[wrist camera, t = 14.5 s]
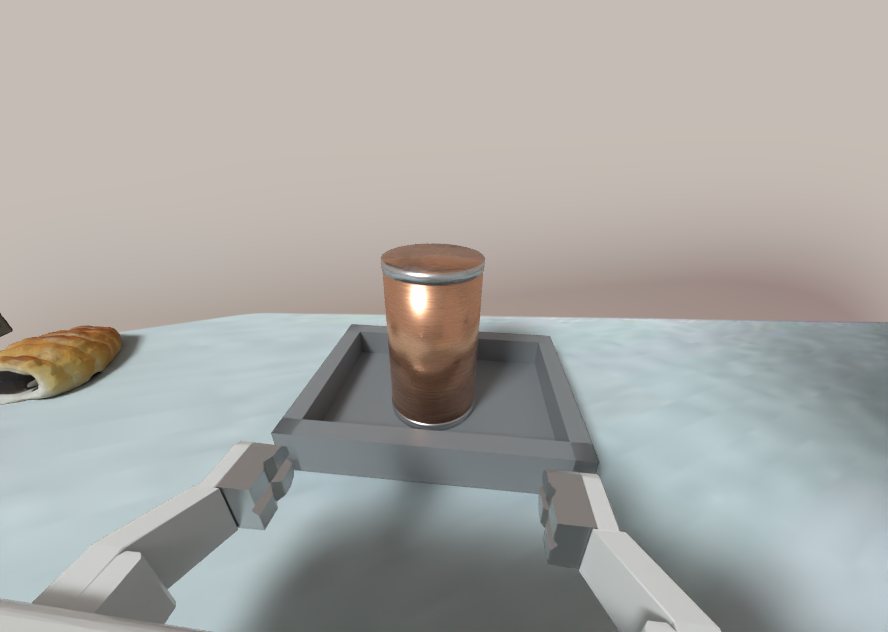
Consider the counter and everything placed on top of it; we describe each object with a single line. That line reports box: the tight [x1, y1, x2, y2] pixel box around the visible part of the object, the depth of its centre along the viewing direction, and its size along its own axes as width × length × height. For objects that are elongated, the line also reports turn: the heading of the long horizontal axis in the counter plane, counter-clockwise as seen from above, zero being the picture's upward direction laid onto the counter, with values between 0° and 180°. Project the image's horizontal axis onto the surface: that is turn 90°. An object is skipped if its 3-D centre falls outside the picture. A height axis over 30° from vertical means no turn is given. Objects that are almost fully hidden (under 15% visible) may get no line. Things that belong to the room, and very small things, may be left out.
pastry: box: [0, 326, 122, 404], centre depth 27 cm, size 9×7×4 cm
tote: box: [271, 324, 599, 494], centre depth 24 cm, size 18×13×3 cm
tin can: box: [381, 244, 485, 431], centre depth 21 cm, size 6×6×11 cm
